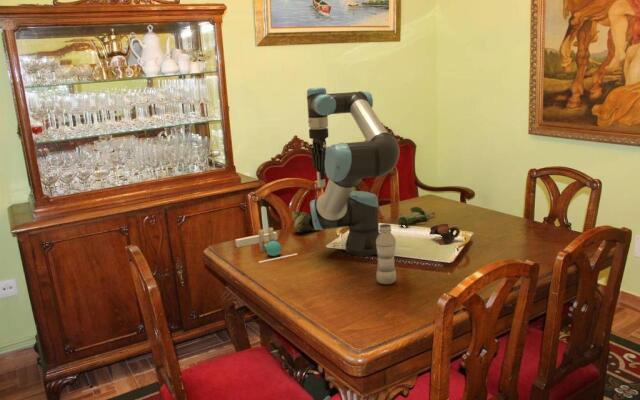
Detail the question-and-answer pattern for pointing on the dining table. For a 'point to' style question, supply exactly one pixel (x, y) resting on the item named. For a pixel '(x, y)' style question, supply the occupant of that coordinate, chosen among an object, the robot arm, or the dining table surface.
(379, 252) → the plastic bottle
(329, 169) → the robot arm
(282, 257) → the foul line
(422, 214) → the figure
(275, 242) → the ball
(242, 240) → the back rail
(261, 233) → the pin
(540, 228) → the dining table surface
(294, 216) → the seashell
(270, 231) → the pin
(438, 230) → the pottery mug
